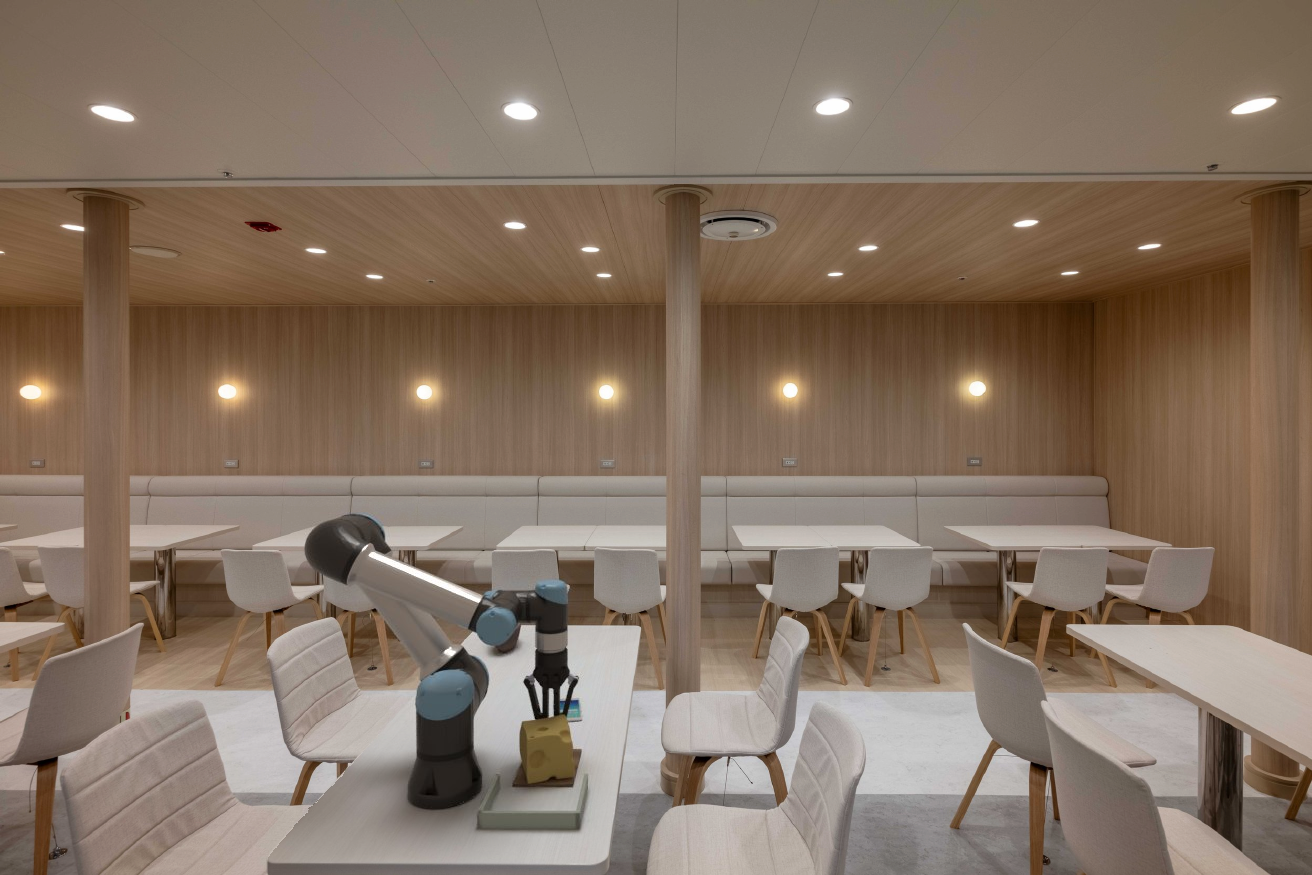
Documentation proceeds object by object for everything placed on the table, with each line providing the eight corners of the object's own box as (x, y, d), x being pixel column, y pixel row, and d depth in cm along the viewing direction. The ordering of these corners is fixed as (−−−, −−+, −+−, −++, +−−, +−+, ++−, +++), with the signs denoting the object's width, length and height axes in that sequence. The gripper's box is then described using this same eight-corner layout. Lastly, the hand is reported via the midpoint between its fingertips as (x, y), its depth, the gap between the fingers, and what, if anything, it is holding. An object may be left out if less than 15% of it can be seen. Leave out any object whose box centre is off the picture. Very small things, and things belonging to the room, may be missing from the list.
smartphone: (553, 721, 176) (553, 698, 191) (553, 724, 176) (553, 701, 191) (582, 719, 177) (579, 697, 192) (582, 722, 177) (579, 700, 192)
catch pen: (579, 828, 129) (579, 812, 129) (477, 828, 129) (477, 812, 129) (588, 787, 144) (588, 773, 144) (496, 787, 144) (496, 773, 144)
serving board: (572, 786, 144) (572, 783, 144) (512, 786, 144) (512, 783, 144) (581, 751, 160) (581, 748, 160) (526, 751, 160) (526, 748, 160)
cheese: (574, 777, 147) (574, 731, 146) (524, 785, 143) (524, 738, 143) (566, 756, 156) (565, 713, 156) (518, 763, 153) (518, 719, 153)
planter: (514, 638, 248) (514, 584, 248) (537, 649, 235) (536, 592, 235) (476, 646, 239) (476, 590, 239) (497, 658, 226) (497, 599, 226)
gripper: (581, 642, 161) (580, 741, 161) (526, 642, 161) (525, 741, 161) (577, 653, 154) (577, 756, 154) (520, 653, 153) (519, 756, 154)
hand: (551, 748), depth 158 cm, fingers closed
